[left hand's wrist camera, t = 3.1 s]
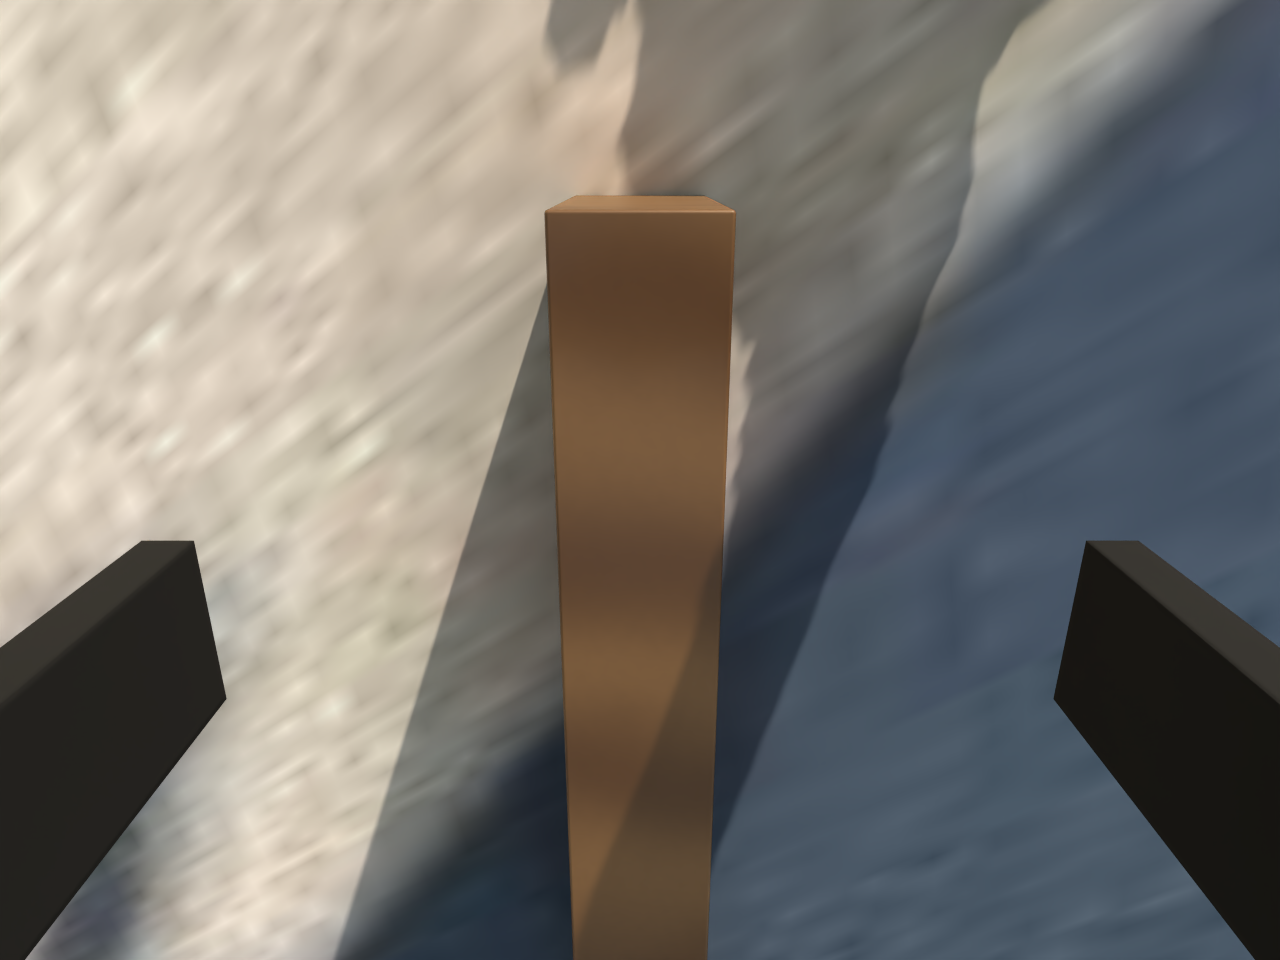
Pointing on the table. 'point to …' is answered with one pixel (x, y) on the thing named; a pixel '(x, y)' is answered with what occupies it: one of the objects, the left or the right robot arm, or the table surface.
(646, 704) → the bar
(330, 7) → the table surface
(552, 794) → the table surface
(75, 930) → the table surface
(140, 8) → the table surface
